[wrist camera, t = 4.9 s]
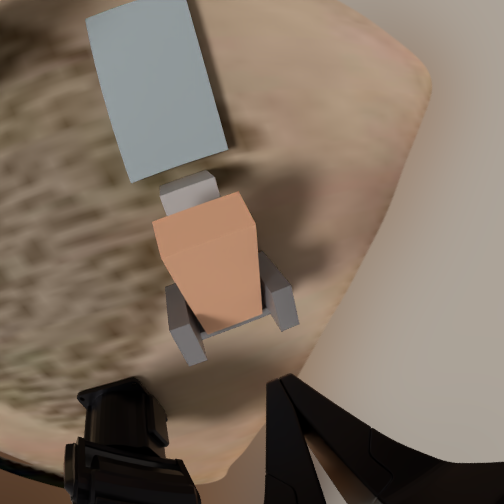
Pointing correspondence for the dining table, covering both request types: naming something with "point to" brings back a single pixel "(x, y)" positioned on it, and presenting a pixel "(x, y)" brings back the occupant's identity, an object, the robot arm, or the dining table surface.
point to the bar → (214, 260)
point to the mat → (155, 85)
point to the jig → (179, 312)
